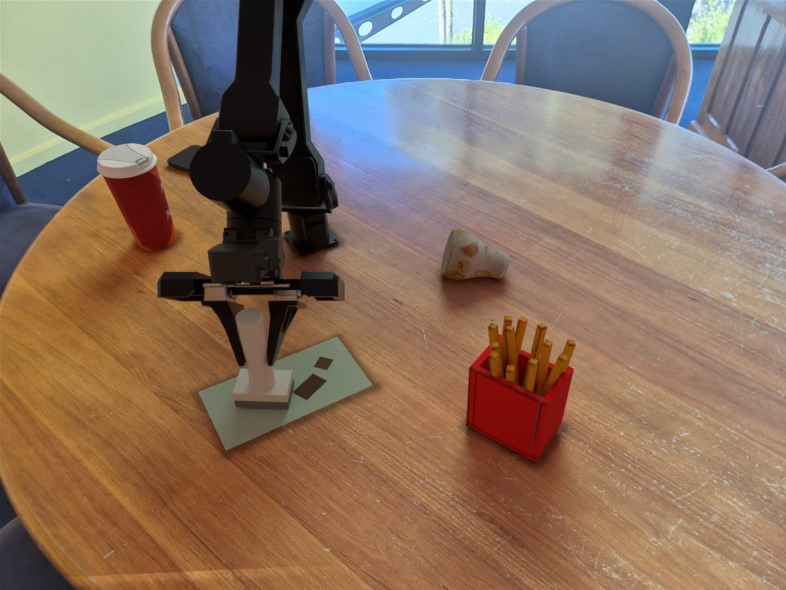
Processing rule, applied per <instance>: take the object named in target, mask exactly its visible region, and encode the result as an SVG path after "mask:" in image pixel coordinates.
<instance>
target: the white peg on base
mask: <svg viewBox="0 0 786 590" xmlns="http://www.w3.org/2000/svg"><path fill="white" fill-rule="evenodd" d="M236 322H237V326H238V331H239V335H240V340H241V344H242V349H243V353H244V358H245V366H246V368H245V367H244V368H242V367H240V368H239V372H238V374H237V376H238V377H237V376H236V377H237V380H236V384H235V387H234V390H233V393H232V394H233V398H234V402H235V406H236V407H246V408H275V409H289V405H290V401H291V397H292V392H293V388H294V378H293V371H292V370H274V368H273V366H268V359H267V348H268V335H269V334H268V330H267V324H266V319H265V314H264V311H262V310H261V309H259V308H257V307H247V308H244V309H243V310H241V311H240V312H238V314H237V315H236Z"/></svg>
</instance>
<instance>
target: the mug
mask: <svg viewBox="0 0 786 590" xmlns="http://www.w3.org/2000/svg"><path fill="white" fill-rule="evenodd" d="M509 266H510V257H509V255H508V254H507V253H506V252H505V251H501V250H499V249H495V248H492V247H490V246H489V245H487V243H485V242H483V241H482V240H480V239H479V238H478V237H476V236H475V235H473V234H472V233H470V232H469V231H466V230H465V229H457V228H456V229H452V230H451V231H450V233H449V236H448V238H447V241H446V244H445V247H444V251H443V255H442V259H441V267H440V275H441V276H443V277H444V278H447V279H451V280H456V281H457V280H467V279H473V278H479V277H487V278H493V279H497V280H498V279H502V278H504V277H505V276H506V275H507V273H508V270H509Z"/></svg>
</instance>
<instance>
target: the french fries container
mask: <svg viewBox="0 0 786 590" xmlns="http://www.w3.org/2000/svg"><path fill="white" fill-rule="evenodd" d="M503 316H504V317H503V323H502V330H501V334H500V333H499V324H497V323H494V322H491V323H490V324H489V325H488V326H487V332H488V341H489V344H488V346H486V348H485V349H484V350H483V351H482V352H481V353H480V354H479V356H478V357H477V358H476V359H475V360H474V361H473V362H472V363H471V364H470V366H469V367H468V383H467V401H466V403H467V405H466V421H465V422H466V423H465V426H466V427H467V428H468V429H471V430H473V431H475V432H476V433H477V434H480V435H482V436H484V437H486V438H488V439H489V440H492V441H493V442H495V443H497V444H499V445H501V446H502V447H505V448H506V449H508V450H510V451H512V452H514V453H515V454H518V455H520V456H522V457H524V458H525V459H527V460H529V461H531V462H533V463H535V464H537V463H538V461H539V460H540V458H541V457H542V455H544V454H543V453H544V452H545V451H546V449H547V448H548V446H549V445H550V444H551V442H552V440H553V439H554V437H555V436H556V434H557V433H558V431H559V427H560V426H561V425H562V423H563V419H564V415H565V411H566V406H567V401H568V396H569V393H570V388H571V383H572V379H573V375H574V371H575V368H574V367H572V366H571V365H570V362H571V359H572V357H573V354H574V351H575V349H576V346H577V343H576V340H575V339H568V338H567V340H566V341H565V343H564V344H565V345H564V347H563V350H562V352H561V353H560V354H559V355H558V357H557V358H556V360H555V362H554V363H551V362H550V360H551V355H552V348H553V341H552V340H549V339H545V338H546V335H547V331H548V325H546V324H544V323H543V322H541V323H539V324H537V325H536V328H535V332H534V337H533V341H532V345H531V349H530V352H528V351H526V350H524V349H522V346H523V342H524V338H525V333H526V330H527V326H528V321H529V318H526V317H524V316H520V317H519V318H518V319H517V323H516V328H515V326H514V325H513V316H512V315H503Z"/></svg>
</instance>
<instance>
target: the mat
mask: <svg viewBox="0 0 786 590" xmlns="http://www.w3.org/2000/svg"><path fill="white" fill-rule="evenodd" d="M273 368H274V370H292V371H293V378H294V388H293V392H292V397H291V401H290V405H289V409H275V408H246V407H236V406H235V402H234V398H233V394H232V393H233V390H234V387H235V384H236V380H237V377H238V375H237V376H235V377H232V378H230V379H227V380H225V381H222V382H219V383H217V384H215V385H212V386H210V387H207V388H204V389H202V390H199V391H198V396H199V397H200V399H201V401H202V403H203V405H204V407H205V410H206V412H207V413H208V416H209V418H210V420H211V423H212V425H213V427H214V428H215V430H216V433H217V435H218V437H219V439H220V442H221V443H222V445H223V448H224V450H225V451H229V450H231V449H233V448H236V447H238V446H240V445H243V444H244V443H246V442H249V441H250V440H253V439H255V438H258V437H261V436H262V435H265V434H266V433H269V432H271V431H273V430H275V429H278V428H280V427H282V426H284V425H287V424H289V423H291V422H293V421H295V420H298V419H300V418H303V417H304V416H307V415H309V414H311V413H314V412H316V411H318V410H320V409H323V408H325V407H327V406H329V405H331V404H335V403H336V402H338V401H341V400H343V399H345V398H347V397H350V396H352V395H355V394H356V393H359V392H361V391H363V390H366V389H368V388H370V387H372V386H373V384H372V382H371V381H370V379H369V378H368V376H367V375H366V374H365V372H364V371H363V370H362V369H361V367H360V365H359V364H358V363H357V362H356V360H355V359H354V357H353V356H352V354H351V353H350V352H349V350H348V349H347V348H346V346H345V345H344V344H343V342H342V341H341V339H340V338H339V337H338V336H334V337H333V338H330V339H327V340H325V341H323V342H320V343H317V344H315V345H312V346H310V347H308V348H305V349H302V350H299V351H297V352H295V353H293V354H290V355H287V356H284V357H282V358H280V359H278V360H277V359H276V361H275V363H274V366H273Z"/></svg>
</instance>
